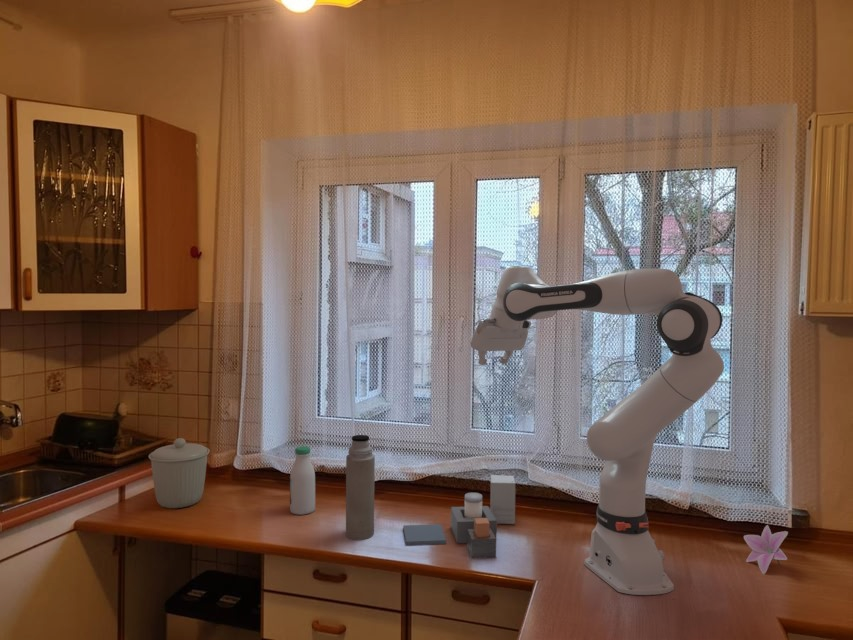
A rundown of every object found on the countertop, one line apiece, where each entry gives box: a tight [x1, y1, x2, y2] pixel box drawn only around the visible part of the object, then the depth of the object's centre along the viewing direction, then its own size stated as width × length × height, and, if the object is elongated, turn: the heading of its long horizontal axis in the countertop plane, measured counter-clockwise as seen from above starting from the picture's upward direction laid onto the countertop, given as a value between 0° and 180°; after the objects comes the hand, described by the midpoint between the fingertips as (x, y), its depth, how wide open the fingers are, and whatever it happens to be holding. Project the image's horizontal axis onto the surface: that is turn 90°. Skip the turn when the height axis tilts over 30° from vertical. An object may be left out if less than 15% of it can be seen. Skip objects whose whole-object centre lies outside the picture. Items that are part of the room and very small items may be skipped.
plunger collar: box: [466, 529, 497, 559], centre depth 150 cm, size 6×6×5 cm
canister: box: [148, 437, 211, 509], centre depth 182 cm, size 18×18×21 cm
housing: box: [450, 505, 498, 544], centre depth 161 cm, size 11×11×6 cm
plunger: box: [474, 518, 490, 537], centre depth 149 cm, size 3×3×6 cm
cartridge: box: [464, 492, 483, 518], centre depth 161 cm, size 5×5×11 cm
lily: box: [743, 524, 789, 575], centre depth 144 cm, size 12×12×10 cm
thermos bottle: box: [345, 434, 376, 541], centre depth 160 cm, size 8×8×28 cm
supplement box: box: [489, 474, 516, 525], centre depth 172 cm, size 7×7×13 cm
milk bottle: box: [289, 445, 316, 516], centre depth 177 cm, size 8×8×20 cm
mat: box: [402, 523, 447, 546], centre depth 159 cm, size 11×11×1 cm
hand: (492, 363), depth 166 cm, fingers open, 8 cm apart
